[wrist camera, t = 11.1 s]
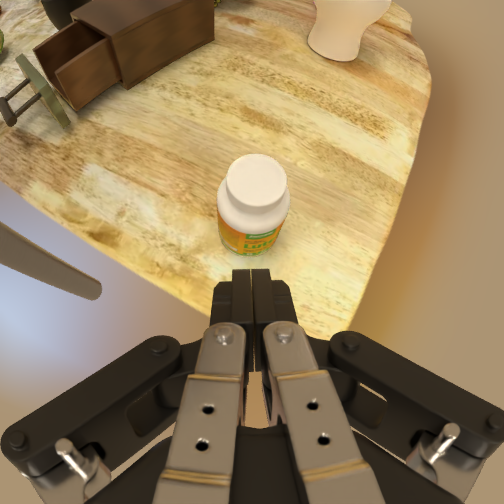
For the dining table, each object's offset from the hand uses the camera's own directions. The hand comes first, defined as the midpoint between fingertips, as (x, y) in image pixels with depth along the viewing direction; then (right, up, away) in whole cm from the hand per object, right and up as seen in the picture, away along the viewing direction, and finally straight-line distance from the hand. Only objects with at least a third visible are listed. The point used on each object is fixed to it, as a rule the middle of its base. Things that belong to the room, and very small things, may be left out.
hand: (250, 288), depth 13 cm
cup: (+12, +32, +26) cm, 43 cm away
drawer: (-23, +23, +19) cm, 38 cm away
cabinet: (-15, +31, +23) cm, 41 cm away
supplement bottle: (0, +3, +16) cm, 17 cm away
